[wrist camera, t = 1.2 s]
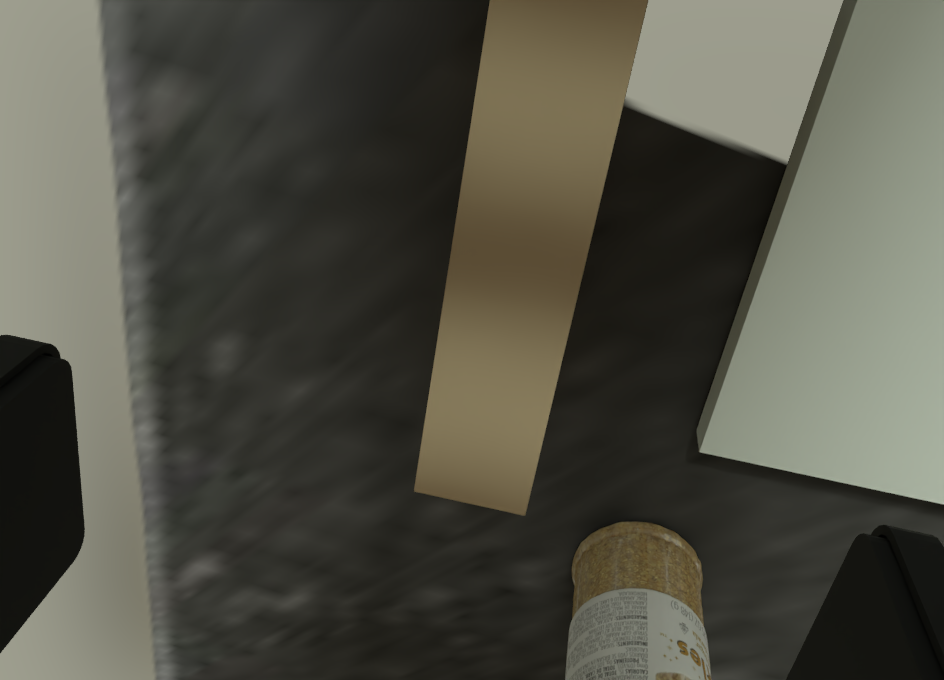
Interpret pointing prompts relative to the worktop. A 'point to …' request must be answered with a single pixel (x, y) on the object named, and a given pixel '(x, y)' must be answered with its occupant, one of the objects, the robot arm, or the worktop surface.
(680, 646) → the sprinkles bottle
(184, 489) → the worktop surface
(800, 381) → the board
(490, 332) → the light brown wooden block
